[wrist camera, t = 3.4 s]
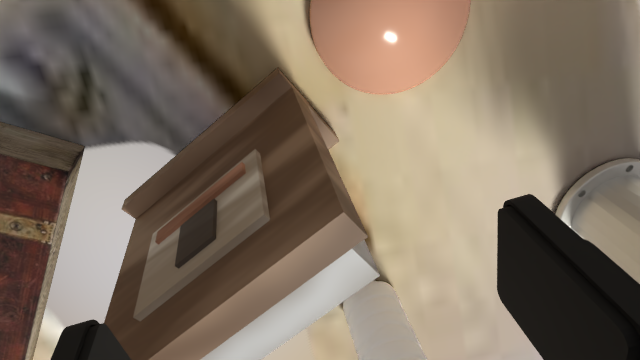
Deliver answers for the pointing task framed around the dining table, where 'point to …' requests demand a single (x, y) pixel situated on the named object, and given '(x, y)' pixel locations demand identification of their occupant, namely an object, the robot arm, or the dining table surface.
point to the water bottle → (381, 325)
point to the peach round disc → (386, 40)
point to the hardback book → (31, 229)
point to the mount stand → (240, 237)
